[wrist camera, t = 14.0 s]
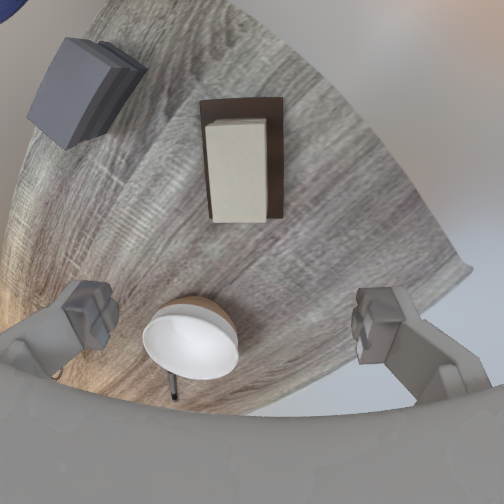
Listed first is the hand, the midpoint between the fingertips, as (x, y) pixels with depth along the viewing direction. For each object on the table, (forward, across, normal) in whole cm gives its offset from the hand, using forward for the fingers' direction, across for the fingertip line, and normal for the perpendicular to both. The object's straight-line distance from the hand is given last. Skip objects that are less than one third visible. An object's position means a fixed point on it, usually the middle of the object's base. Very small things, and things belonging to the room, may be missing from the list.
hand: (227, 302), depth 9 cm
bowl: (+31, +12, +31) cm, 46 cm away
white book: (+26, +3, +3) cm, 26 cm away
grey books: (+31, +21, -9) cm, 39 cm away
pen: (+31, +22, +54) cm, 66 cm away
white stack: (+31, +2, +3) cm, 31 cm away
